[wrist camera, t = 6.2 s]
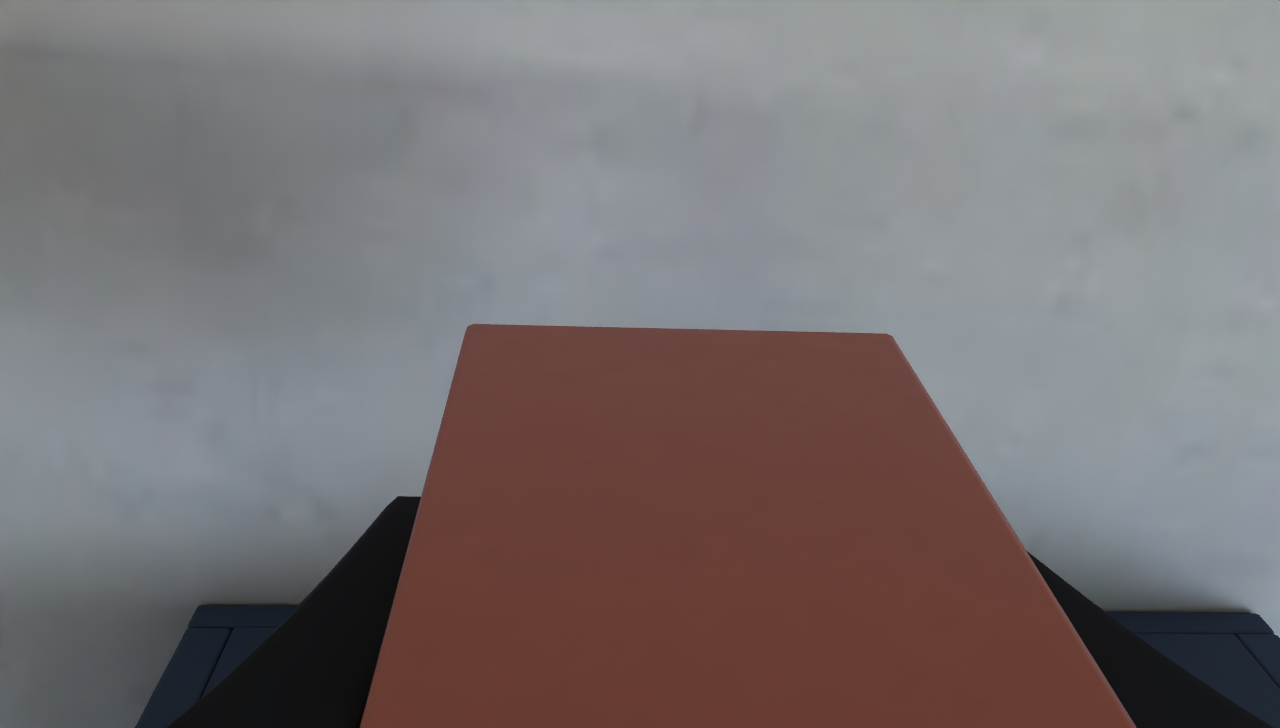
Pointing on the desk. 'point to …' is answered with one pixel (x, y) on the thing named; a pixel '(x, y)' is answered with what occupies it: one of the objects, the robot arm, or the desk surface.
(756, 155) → the desk surface
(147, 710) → the tote
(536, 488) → the coral block
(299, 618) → the robot arm
